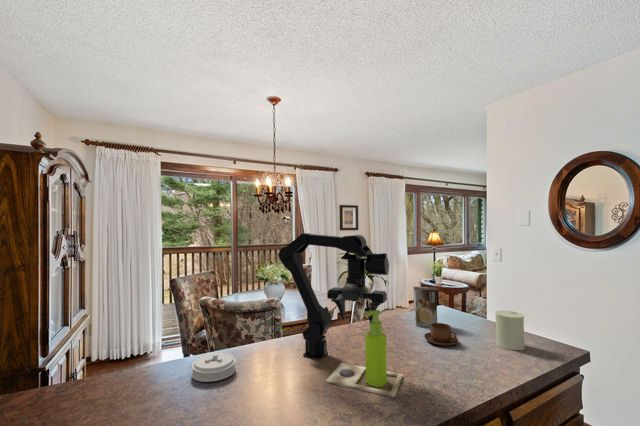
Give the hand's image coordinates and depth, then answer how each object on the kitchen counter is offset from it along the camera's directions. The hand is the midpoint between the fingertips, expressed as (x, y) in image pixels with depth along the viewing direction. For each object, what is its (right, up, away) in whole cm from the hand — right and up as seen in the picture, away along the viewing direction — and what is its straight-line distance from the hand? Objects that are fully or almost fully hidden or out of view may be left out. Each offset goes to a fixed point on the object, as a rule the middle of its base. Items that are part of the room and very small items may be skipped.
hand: (357, 321), depth 104 cm
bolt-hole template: (+1, -13, -12) cm, 17 cm away
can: (+58, -14, +13) cm, 61 cm away
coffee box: (+35, -14, +38) cm, 53 cm away
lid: (-44, -13, -8) cm, 47 cm away
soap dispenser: (+4, -13, -13) cm, 19 cm away
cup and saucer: (+34, -14, +17) cm, 40 cm away
